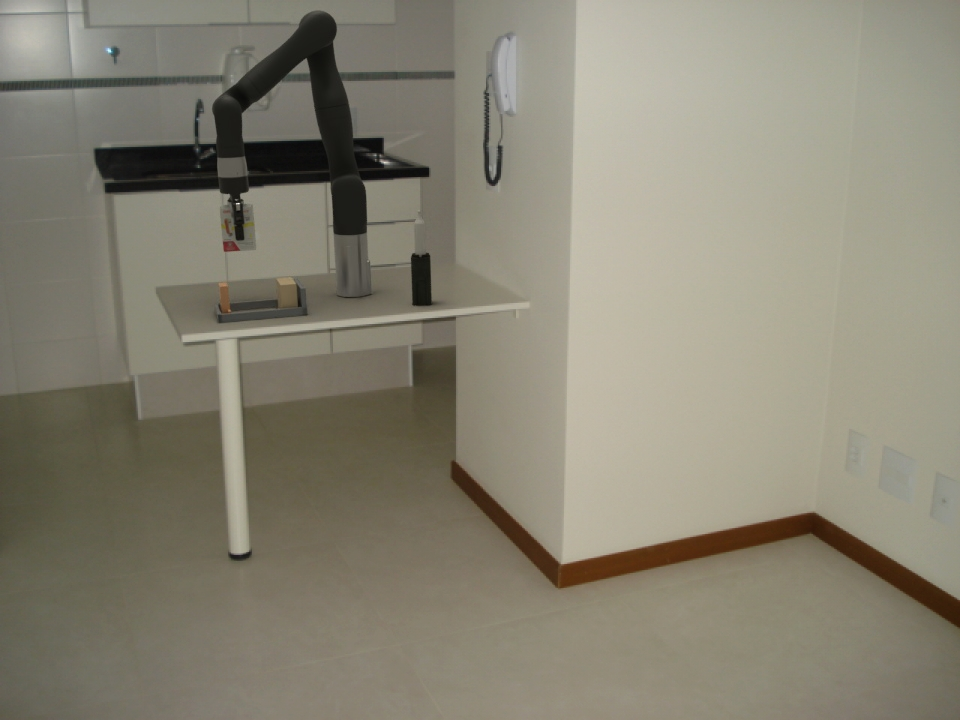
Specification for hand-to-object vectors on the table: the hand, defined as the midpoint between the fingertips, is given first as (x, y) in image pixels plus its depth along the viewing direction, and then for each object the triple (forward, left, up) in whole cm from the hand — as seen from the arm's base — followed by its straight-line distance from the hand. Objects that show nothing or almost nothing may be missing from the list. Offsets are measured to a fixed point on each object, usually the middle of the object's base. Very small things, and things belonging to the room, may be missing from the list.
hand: (239, 238), depth 268 cm
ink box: (0, 0, -3) cm, 3 cm away
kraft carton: (-10, +14, -18) cm, 25 cm away
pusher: (+6, +14, -17) cm, 23 cm away
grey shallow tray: (-3, +14, -18) cm, 23 cm away
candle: (-45, +19, -18) cm, 52 cm away
